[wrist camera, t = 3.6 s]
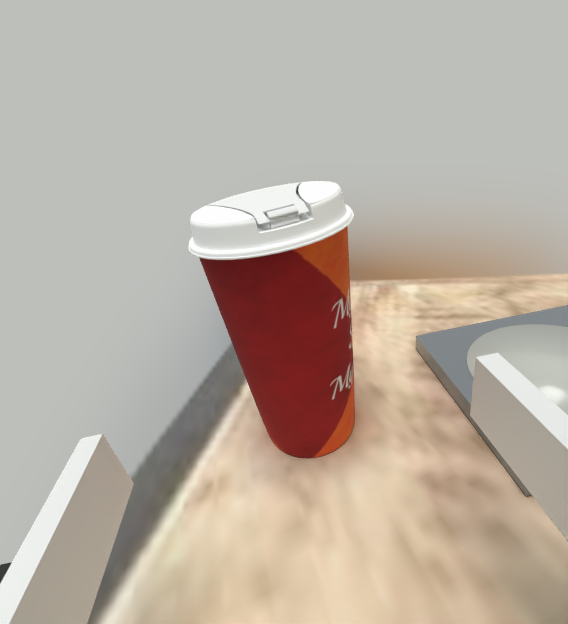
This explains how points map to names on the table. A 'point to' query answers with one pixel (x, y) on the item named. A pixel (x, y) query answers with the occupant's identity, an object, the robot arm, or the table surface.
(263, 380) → the paper cup
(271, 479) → the table surface
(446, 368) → the coaster
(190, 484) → the table surface
